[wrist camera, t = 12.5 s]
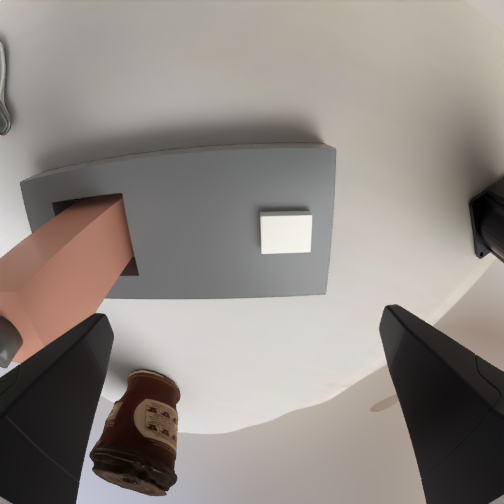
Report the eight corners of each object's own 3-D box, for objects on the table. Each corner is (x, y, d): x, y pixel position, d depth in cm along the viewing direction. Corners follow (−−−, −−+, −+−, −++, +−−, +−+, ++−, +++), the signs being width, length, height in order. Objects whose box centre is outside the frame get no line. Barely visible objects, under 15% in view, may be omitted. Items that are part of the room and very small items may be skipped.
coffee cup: (160, 354, 27) (129, 469, 16) (205, 398, 31) (194, 500, 19) (106, 371, 29) (70, 464, 17) (150, 409, 32) (130, 496, 21)
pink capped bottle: (129, 192, 20) (-4, 315, 7) (139, 246, 22) (47, 396, 9) (81, 199, 20) (-52, 307, 7) (93, 249, 22) (-8, 377, 9)
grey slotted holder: (324, 143, 18) (340, 150, 15) (317, 272, 23) (328, 301, 20) (41, 172, 19) (13, 185, 15) (69, 278, 23) (49, 301, 20)
